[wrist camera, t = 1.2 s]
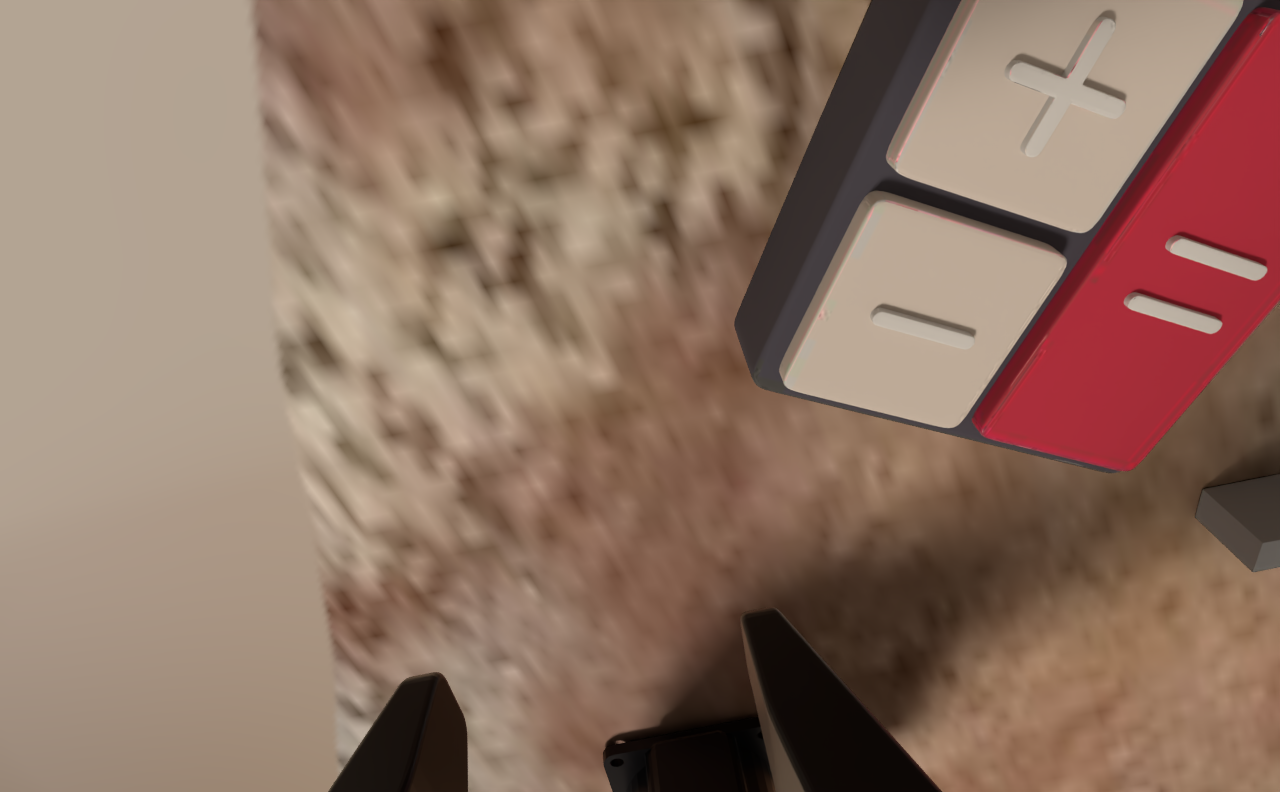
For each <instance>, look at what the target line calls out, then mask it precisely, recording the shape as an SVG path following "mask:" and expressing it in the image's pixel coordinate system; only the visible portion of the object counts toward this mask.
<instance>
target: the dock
mask: <svg viewBox="0 0 1280 792" xmlns="http://www.w3.org/2000/svg"><path fill="white" fill-rule="evenodd" d="M1195 518H1196V519H1197V520H1198V521H1199V522H1200V523H1202V524H1203V525H1204V526H1205V527H1206V528H1207V529H1208V530H1209V531H1210V532H1211V533H1212V534H1213V535H1214V536H1215V537H1216V538H1217V539H1218V540H1219V541H1220V542H1221V543H1222V544H1224V545H1225V546H1226V547H1227V548H1228V549H1229V550H1230V551H1231V552H1232V553H1233V554H1234V555H1235V556H1236V557H1237V558H1238V559H1239V560H1240V561H1241V562H1242V563H1243V564H1244V565H1246V566H1247V567H1248V568H1249V569H1250V570H1251V571H1252V572H1257V571H1262V570H1267V569H1272V568H1277V567H1280V474H1278V475H1273V476H1268V477H1263V478H1258V479H1252V480H1247V481H1242V482H1237V483H1232V484H1227V485H1222V486H1217V487H1212V488H1206V489H1203V490H1202V494H1201V497H1200V501H1199V505H1198V508H1197V512H1196V516H1195Z"/></svg>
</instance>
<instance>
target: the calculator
mask: <svg viewBox="0 0 1280 792" xmlns="http://www.w3.org/2000/svg"><path fill="white" fill-rule="evenodd" d="M1279 302H1280V0H872V2H871V4H870V6H869V9H868V11H867V13H866V15H865V18H864V20H863V22H862V25H861V27H860V29H859V31H858V34H857V36H856V38H855V40H854V43H853V45H852V47H851V49H850V52H849V54H848V56H847V58H846V61H845V63H844V65H843V68H842V70H841V72H840V74H839V77H838V79H837V81H836V83H835V86H834V88H833V90H832V92H831V95H830V97H829V99H828V101H827V104H826V106H825V108H824V111H823V113H822V115H821V117H820V120H819V122H818V124H817V127H816V129H815V131H814V134H813V136H812V138H811V141H810V143H809V145H808V148H807V150H806V152H805V155H804V157H803V160H802V162H801V164H800V167H799V169H798V171H797V174H796V176H795V178H794V181H793V183H792V185H791V188H790V190H789V192H788V195H787V197H786V199H785V202H784V204H783V207H782V209H781V211H780V214H779V216H778V218H777V221H776V223H775V225H774V228H773V230H772V232H771V235H770V237H769V239H768V242H767V244H766V247H765V249H764V251H763V254H762V256H761V258H760V261H759V263H758V265H757V268H756V270H755V273H754V275H753V277H752V280H751V282H750V284H749V287H748V289H747V292H746V294H745V296H744V299H743V301H742V303H741V306H740V308H739V310H738V313H737V316H736V318H735V324H734V325H735V330H736V333H737V336H738V339H739V342H740V345H741V347H742V350H743V353H744V356H745V359H746V362H747V365H748V368H749V370H750V373H751V376H752V378H753V381H754V382H755V384H756V385H757V386H758V387H760V388H762V389H765V390H769V391H772V392H776V393H780V394H785V395H789V396H793V397H797V398H801V399H805V400H809V401H813V402H817V403H821V404H826V405H830V406H834V407H838V408H842V409H846V410H850V411H854V412H858V413H863V414H867V415H871V416H875V417H879V418H883V419H887V420H891V421H895V422H900V423H904V424H908V425H912V426H916V427H920V428H924V429H928V430H932V431H937V432H941V433H945V434H949V435H953V436H957V437H961V438H965V439H969V440H973V441H978V442H982V443H986V444H990V445H994V446H998V447H1002V448H1006V449H1010V450H1015V451H1019V452H1023V453H1027V454H1031V455H1035V456H1039V457H1043V458H1047V459H1052V460H1056V461H1060V462H1064V463H1068V464H1072V465H1076V466H1080V467H1084V468H1089V469H1093V470H1097V471H1101V472H1106V473H1117V472H1120V471H1130V470H1132V469H1134V468H1135V467H1136V466H1137V465H1138V464H1139V463H1140V462H1141V461H1142V460H1143V459H1144V458H1145V457H1146V456H1147V455H1148V453H1149V452H1150V451H1151V450H1152V449H1153V448H1154V446H1155V445H1156V444H1157V443H1158V442H1159V441H1160V440H1161V438H1162V437H1163V436H1164V435H1165V434H1166V433H1167V431H1168V430H1169V429H1170V428H1171V427H1172V426H1173V424H1174V423H1175V422H1176V421H1177V420H1178V419H1179V417H1180V416H1181V415H1182V414H1183V413H1184V412H1185V411H1186V409H1187V408H1188V407H1189V406H1190V405H1191V404H1192V402H1193V401H1194V400H1195V399H1196V398H1197V397H1198V395H1199V394H1200V393H1201V392H1202V391H1203V390H1204V389H1205V387H1206V386H1207V385H1208V384H1209V383H1210V382H1211V380H1212V379H1213V378H1214V377H1215V376H1216V375H1217V373H1218V372H1219V371H1220V370H1221V369H1222V368H1223V366H1224V365H1225V364H1226V363H1227V362H1228V361H1229V360H1230V358H1231V357H1232V356H1233V355H1234V354H1235V353H1236V351H1237V350H1238V349H1239V348H1240V347H1241V346H1242V344H1243V343H1244V342H1245V341H1246V340H1247V339H1248V337H1249V336H1250V335H1251V334H1252V333H1253V332H1254V331H1255V329H1256V328H1257V327H1258V326H1259V325H1260V324H1261V322H1262V321H1263V320H1264V319H1265V318H1266V317H1267V315H1268V314H1269V313H1270V312H1271V311H1272V310H1273V309H1274V307H1275V306H1276V305H1277V304H1278V303H1279Z"/></svg>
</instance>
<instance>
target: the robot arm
mask: <svg viewBox="0 0 1280 792" xmlns="http://www.w3.org/2000/svg"><path fill="white" fill-rule="evenodd" d="M740 624H741V631H742V637H743V643H744V650H745V656H746V662H747V668H748V673H749V678H750V682H751V686H752V691H753V695H754V699H755V704H756V708H757V712H758V717H756V718H751V719H746V720H741V721H735V722H730V723H725V724H720V725H715V726H709V727H704V728H699V729H694V730H689V731H683V732H678V733H673V734H668V735H663V736H657V737H652V738H647V739H642V740H637V741H631V742H626V743H621V744H616V745H612V746H609V747H607V748H606V749H605V750H604V752H603V762H604V768H605V771H606V773H607V776H608V779H609V782H610V785H611V788H612V791H613V792H942V791H941V790H940V789H939V788H938V786H937V785H936V784H935V783H934V782H933V781H932V780H931V779H930V778H929V776H928V775H927V774H926V773H925V772H924V771H923V770H922V769H921V767H920V766H919V765H918V764H917V763H916V762H915V761H914V760H913V759H912V757H911V756H910V755H909V754H908V753H907V752H906V751H905V750H904V749H903V747H902V746H901V745H900V744H899V743H898V742H897V741H896V740H895V739H894V737H893V736H892V735H891V734H890V733H889V732H888V731H887V730H886V729H885V727H884V726H883V725H882V724H881V723H880V722H879V721H878V720H877V718H876V717H875V716H874V715H873V714H872V713H871V712H870V711H869V710H868V708H867V707H866V706H865V705H864V704H863V703H862V702H861V701H860V700H859V698H858V697H857V696H856V695H855V694H854V693H853V692H852V691H851V690H850V688H849V687H848V686H847V685H846V684H845V683H844V682H843V681H842V680H841V678H840V677H839V676H838V675H837V674H836V673H835V672H834V671H833V669H832V668H831V667H830V666H829V665H828V664H827V663H826V662H825V661H824V659H823V658H822V657H821V656H820V655H819V654H818V653H817V652H816V651H815V649H814V648H813V647H812V646H811V645H810V644H809V643H808V642H807V641H806V639H805V638H804V637H803V636H802V635H801V634H800V633H799V632H798V630H797V629H796V628H795V627H794V626H793V625H792V624H791V623H790V622H789V620H788V619H787V618H786V617H785V616H784V615H783V614H782V613H781V612H780V611H779V610H778V609H776V608H774V607H768V608H763V609H758V610H753V611H748V612H744V613H743V614H742V615H741V617H740ZM328 792H468V748H467V727H466V722H465V718H464V715H463V713H462V711H461V709H460V707H459V705H458V703H457V700H456V698H455V696H454V694H453V692H452V690H451V688H450V686H449V684H448V682H447V680H446V678H445V677H444V676H443V675H442V674H441V673H439V672H433V673H428V674H423V675H418V676H413V677H409V678H407V679H405V680H404V681H403V682H402V683H401V684H400V685H399V686H398V688H397V689H396V691H395V692H394V694H393V695H392V697H391V698H390V700H389V701H388V703H387V704H386V706H385V707H384V709H383V710H382V712H381V713H380V715H379V716H378V718H377V719H376V721H375V722H374V724H373V725H372V727H371V728H370V730H369V731H368V733H367V734H366V736H365V737H364V739H363V740H362V742H361V743H360V745H359V746H358V748H357V749H356V751H355V752H354V754H353V755H352V757H351V758H350V760H349V761H348V763H347V764H346V766H345V767H344V769H343V770H342V772H341V773H340V775H339V776H338V778H337V779H336V781H335V782H334V784H333V785H332V787H331V788H330V790H329V791H328Z"/></svg>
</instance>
